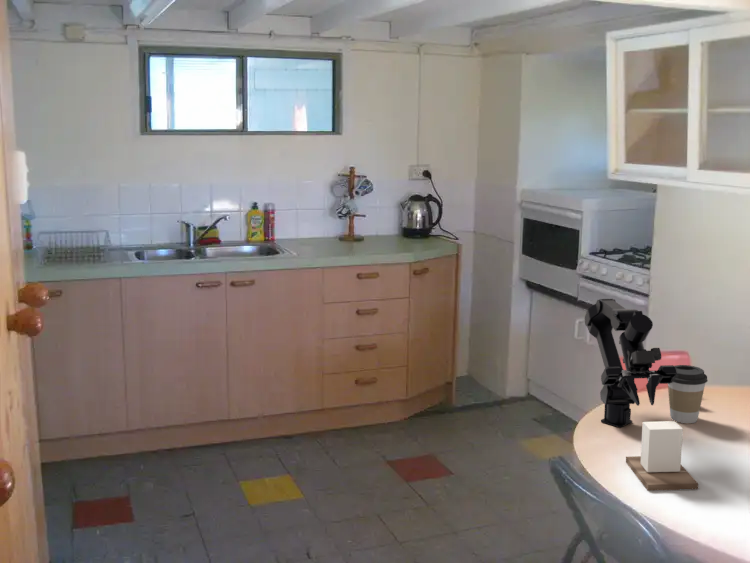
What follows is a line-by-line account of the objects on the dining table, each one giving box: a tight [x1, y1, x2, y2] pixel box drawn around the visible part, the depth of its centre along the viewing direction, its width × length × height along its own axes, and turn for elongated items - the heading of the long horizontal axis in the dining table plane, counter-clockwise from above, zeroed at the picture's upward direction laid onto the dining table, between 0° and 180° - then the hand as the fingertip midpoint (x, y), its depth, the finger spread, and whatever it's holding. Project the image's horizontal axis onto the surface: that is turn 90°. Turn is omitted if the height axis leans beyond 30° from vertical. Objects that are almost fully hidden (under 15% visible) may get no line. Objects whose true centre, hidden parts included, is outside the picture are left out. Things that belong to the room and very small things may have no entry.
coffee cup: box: [667, 364, 708, 424], centre depth 233 cm, size 11×11×15 cm
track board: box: [625, 455, 699, 492], centre depth 199 cm, size 16×12×2 cm
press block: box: [640, 420, 684, 472], centre depth 199 cm, size 6×8×11 cm
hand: (645, 404), depth 209 cm, fingers open, 3 cm apart
